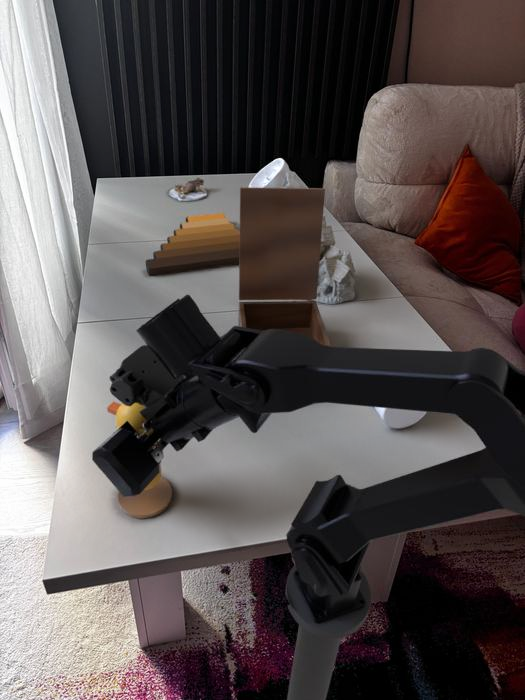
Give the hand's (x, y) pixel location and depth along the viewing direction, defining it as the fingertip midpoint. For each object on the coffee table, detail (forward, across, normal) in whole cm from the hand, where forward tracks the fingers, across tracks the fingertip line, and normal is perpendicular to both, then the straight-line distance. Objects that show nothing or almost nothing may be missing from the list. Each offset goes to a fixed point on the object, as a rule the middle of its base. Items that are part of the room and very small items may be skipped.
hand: (130, 440), depth 68 cm
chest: (+4, -37, +9) cm, 38 cm away
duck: (+3, 0, +5) cm, 6 cm away
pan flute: (+32, -67, -19) cm, 77 cm away
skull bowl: (+31, -109, -18) cm, 115 cm away
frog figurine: (+47, -97, -34) cm, 113 cm away
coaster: (+6, 0, +8) cm, 10 cm away
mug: (-11, -35, +25) cm, 45 cm away
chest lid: (-3, -46, -7) cm, 47 cm away
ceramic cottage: (+8, -64, +5) cm, 65 cm away
